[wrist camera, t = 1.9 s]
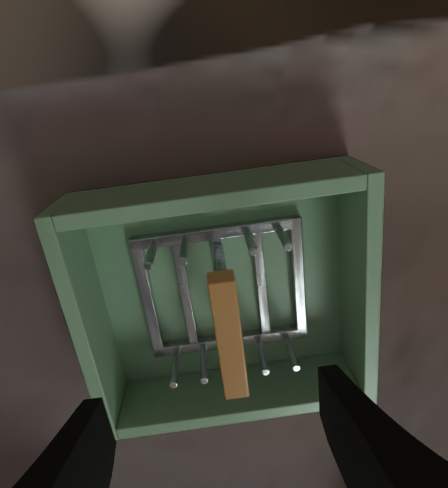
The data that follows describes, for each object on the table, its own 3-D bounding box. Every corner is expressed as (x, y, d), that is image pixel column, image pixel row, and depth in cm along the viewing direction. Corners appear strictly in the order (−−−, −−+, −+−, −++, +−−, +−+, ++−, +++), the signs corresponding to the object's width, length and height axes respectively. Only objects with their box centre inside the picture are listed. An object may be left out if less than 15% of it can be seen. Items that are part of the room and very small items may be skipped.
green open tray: (349, 155, 19) (385, 171, 15) (349, 354, 24) (377, 404, 20) (64, 193, 19) (32, 218, 15) (119, 385, 23) (104, 442, 20)
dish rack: (299, 213, 19) (330, 253, 15) (305, 330, 22) (333, 396, 17) (129, 236, 19) (107, 283, 15) (155, 351, 22) (144, 422, 17)
